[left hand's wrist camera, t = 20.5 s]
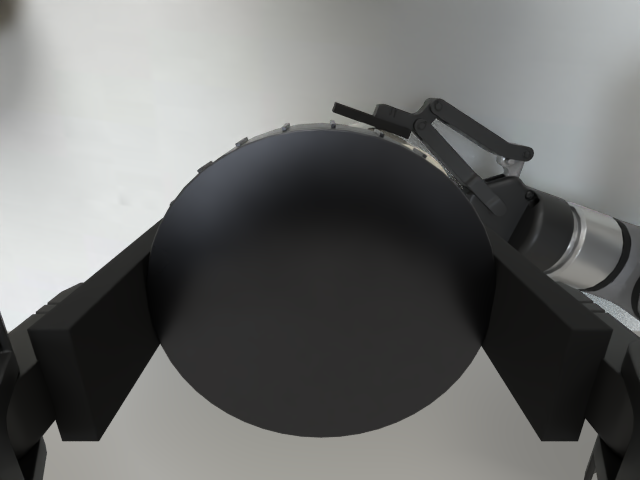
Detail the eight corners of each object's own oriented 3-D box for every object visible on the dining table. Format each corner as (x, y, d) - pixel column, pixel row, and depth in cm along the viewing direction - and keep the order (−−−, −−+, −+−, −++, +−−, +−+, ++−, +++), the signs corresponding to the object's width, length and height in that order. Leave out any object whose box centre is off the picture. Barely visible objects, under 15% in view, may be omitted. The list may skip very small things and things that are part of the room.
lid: (206, 413, 14) (192, 453, 12) (125, 144, 10) (92, 154, 9) (473, 386, 13) (493, 424, 12) (478, 97, 10) (506, 98, 8)
